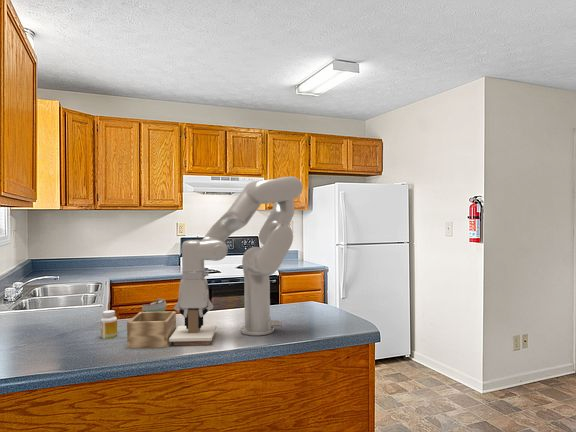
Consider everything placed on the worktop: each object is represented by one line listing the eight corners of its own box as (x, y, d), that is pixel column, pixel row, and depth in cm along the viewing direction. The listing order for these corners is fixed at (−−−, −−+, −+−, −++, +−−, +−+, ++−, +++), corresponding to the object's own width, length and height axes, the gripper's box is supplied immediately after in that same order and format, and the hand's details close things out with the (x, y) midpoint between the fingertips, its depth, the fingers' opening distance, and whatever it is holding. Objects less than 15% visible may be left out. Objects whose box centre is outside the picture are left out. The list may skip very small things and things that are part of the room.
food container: (157, 332, 162) (156, 305, 162) (142, 331, 164) (141, 305, 163) (172, 323, 174) (172, 298, 174) (158, 322, 176) (158, 298, 175)
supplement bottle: (120, 336, 157) (120, 310, 157) (110, 341, 152) (109, 313, 152) (108, 335, 159) (108, 309, 158) (97, 339, 154) (97, 312, 153)
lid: (216, 327, 160) (216, 303, 159) (211, 340, 145) (211, 313, 144) (178, 328, 159) (178, 304, 159) (169, 341, 144) (168, 314, 144)
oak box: (176, 335, 157) (175, 311, 157) (167, 348, 143) (166, 321, 143) (139, 336, 157) (139, 312, 157) (127, 349, 143) (126, 322, 143)
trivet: (213, 335, 158) (213, 333, 158) (209, 345, 146) (209, 344, 146) (180, 335, 158) (180, 334, 158) (173, 346, 146) (173, 344, 146)
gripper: (218, 273, 155) (219, 324, 156) (171, 274, 155) (172, 325, 155) (216, 277, 148) (216, 330, 148) (167, 277, 147) (167, 331, 148)
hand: (194, 327), depth 152 cm, fingers closed on lid, 3 cm apart
